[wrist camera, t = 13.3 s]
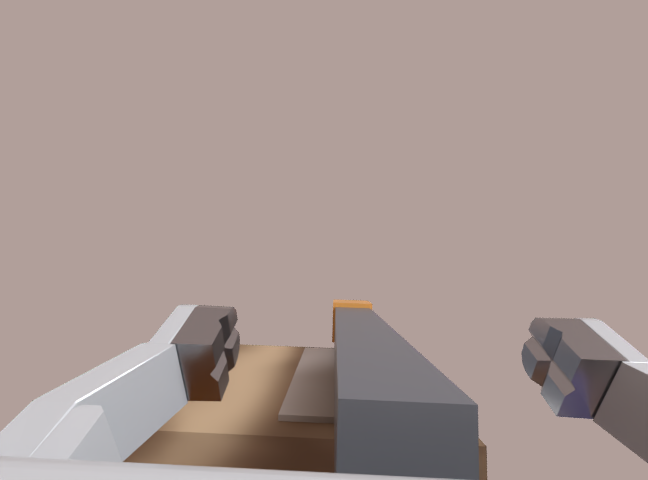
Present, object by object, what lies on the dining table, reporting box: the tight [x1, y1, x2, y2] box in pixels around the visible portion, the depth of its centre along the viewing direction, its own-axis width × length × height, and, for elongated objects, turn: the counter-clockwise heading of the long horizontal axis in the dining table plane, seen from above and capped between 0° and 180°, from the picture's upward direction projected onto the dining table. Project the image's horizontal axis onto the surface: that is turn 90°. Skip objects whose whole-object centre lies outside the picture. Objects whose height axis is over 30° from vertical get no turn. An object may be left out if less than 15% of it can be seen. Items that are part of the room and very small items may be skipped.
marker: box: [332, 300, 479, 480], centre depth 15 cm, size 3×20×3 cm, turn 178°
